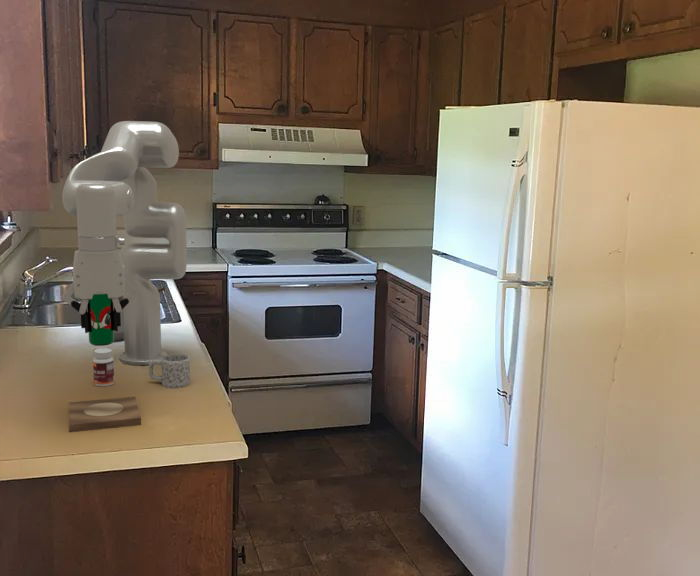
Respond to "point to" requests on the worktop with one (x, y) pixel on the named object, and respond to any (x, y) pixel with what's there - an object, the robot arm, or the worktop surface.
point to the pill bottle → (103, 367)
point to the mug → (172, 370)
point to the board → (103, 414)
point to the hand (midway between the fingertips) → (101, 329)
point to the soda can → (100, 319)
